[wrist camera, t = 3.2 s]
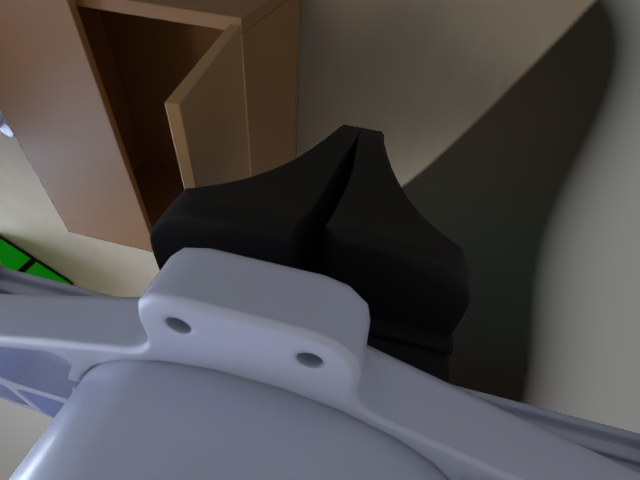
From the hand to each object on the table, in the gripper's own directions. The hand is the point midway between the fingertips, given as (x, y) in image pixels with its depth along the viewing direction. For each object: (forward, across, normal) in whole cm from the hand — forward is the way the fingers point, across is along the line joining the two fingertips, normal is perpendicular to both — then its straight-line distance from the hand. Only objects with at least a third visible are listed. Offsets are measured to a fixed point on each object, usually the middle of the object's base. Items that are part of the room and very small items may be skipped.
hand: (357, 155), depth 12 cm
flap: (-1, +4, +4) cm, 6 cm away
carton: (+10, +11, +4) cm, 15 cm away
